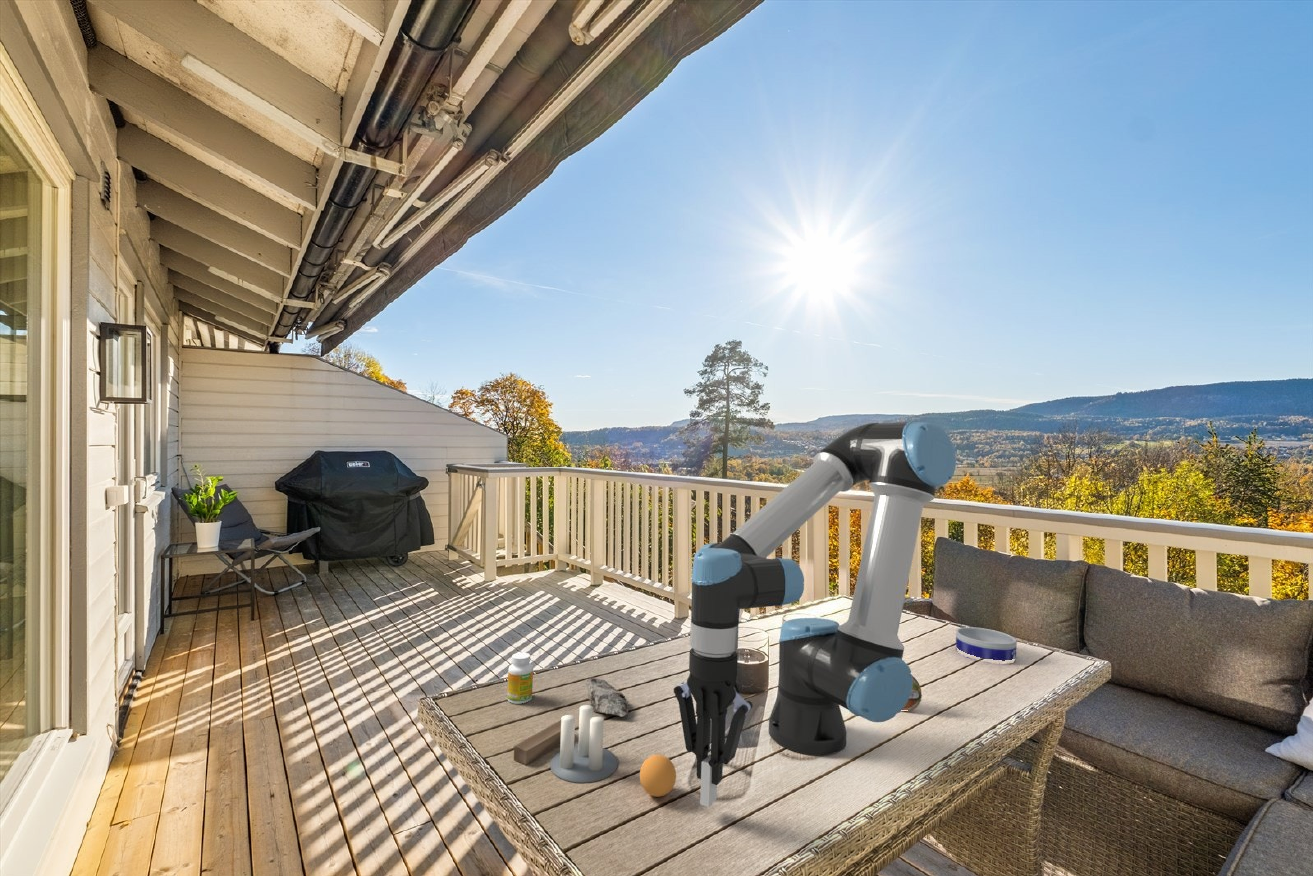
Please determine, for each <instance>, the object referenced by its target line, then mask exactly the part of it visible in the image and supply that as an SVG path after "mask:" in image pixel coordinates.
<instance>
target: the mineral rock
mask: <svg viewBox="0 0 1313 876" xmlns="http://www.w3.org/2000/svg"><path fill="white" fill-rule="evenodd" d="M585 685H587V687H586V690H585V692H586V693H585V695H586V699H587V698H588V699H587V700H589V701H590V706H592V707H593V712H595V713H603V714H606V715H611V716H619V717H624V716H626V715H628V713H629V710H628V708H627V707H628V705H629V704H628V702H627V698H626V696H625V695H624V694H623V693H622V692H621V691H620V690H617V689H616V688H615V687H614V686H613V685H611V684H610V683H608V682H607V680H605V679H600V678H596V677H589V676H588V678H587V680H586V682H585Z"/></svg>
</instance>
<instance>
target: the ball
mask: <svg viewBox="0 0 1313 876" xmlns="http://www.w3.org/2000/svg"><path fill="white" fill-rule="evenodd" d="M676 780H677V772H676V767H675V766H674V763H673V762H672V761H671V760H670V758H668V757H667V756H665V755H663V754H653V755H650V756H649V757H648V758H646V759H645V760H644V761H643V763H642V765H641V767H640V771H639V781H640V785H641V786H642V789H643V790H644V791H645V792H646V793H647V794H648V795H650V796H652V797H656V798H659V797H660V798H661V797H664V796H666V795H668V794H669V793H670V792H671V791H672V790H673V789H674V787H675V783H676Z"/></svg>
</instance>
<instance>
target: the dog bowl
mask: <svg viewBox="0 0 1313 876" xmlns="http://www.w3.org/2000/svg"><path fill="white" fill-rule="evenodd" d="M955 636H956V637H955V641H956V642H955V648H956V647H957V648H958V649H959V650H961V651H963V652H965V653H967V654H970V655H974V656H976V657H980V658H984V659H993V660H1002V661H1005V660H1012V659H1015V658H1016V659H1017V643H1018V642H1017V639H1016V638H1015V637H1014V636H1012V635H1011V634H1010V635H1009V634H1007V633H1004V632H1002V631H998V630H994V629H990V628H983V627H975V626H971V627H970V626H968V627H967V626H964V627H959V628H957V629H956V630H955Z"/></svg>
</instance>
